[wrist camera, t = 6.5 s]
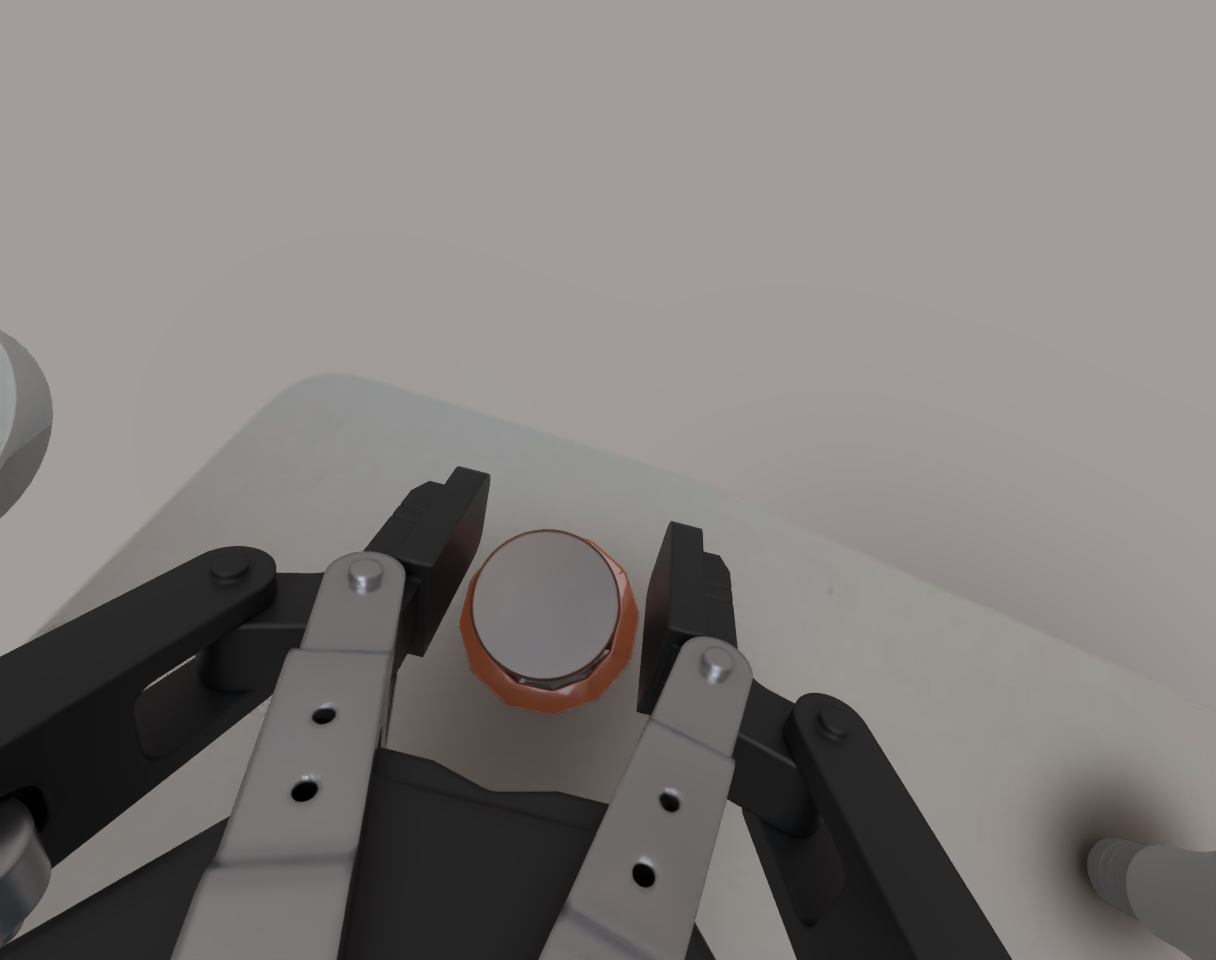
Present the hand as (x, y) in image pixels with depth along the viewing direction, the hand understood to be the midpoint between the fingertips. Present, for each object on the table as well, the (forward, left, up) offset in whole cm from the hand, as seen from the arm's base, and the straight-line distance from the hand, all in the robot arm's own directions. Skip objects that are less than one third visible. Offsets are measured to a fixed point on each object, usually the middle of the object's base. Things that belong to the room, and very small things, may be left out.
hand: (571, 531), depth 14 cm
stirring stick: (+1, -2, -12) cm, 12 cm away
